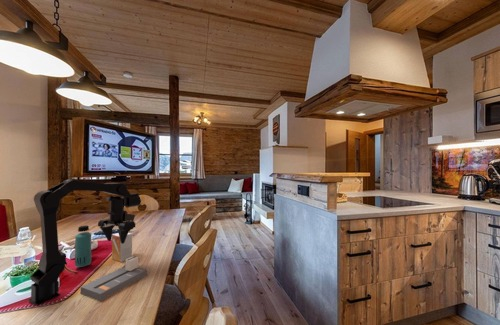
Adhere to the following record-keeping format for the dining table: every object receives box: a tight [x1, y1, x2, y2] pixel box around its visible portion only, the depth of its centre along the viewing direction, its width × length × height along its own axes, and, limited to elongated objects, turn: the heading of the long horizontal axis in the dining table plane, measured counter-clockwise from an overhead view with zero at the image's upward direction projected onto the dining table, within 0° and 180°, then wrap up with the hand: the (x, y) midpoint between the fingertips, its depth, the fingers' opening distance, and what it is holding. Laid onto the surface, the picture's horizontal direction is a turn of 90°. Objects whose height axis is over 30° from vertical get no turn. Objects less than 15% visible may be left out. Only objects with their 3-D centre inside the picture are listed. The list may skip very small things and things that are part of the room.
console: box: [80, 265, 148, 302], centre depth 87 cm, size 20×12×3 cm, turn 157°
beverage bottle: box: [74, 224, 92, 268], centre depth 101 cm, size 6×7×20 cm
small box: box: [111, 232, 133, 263], centre depth 111 cm, size 8×6×13 cm
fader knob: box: [125, 255, 139, 271], centre depth 93 cm, size 4×3×6 cm
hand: (116, 242), depth 99 cm, fingers open, 9 cm apart
